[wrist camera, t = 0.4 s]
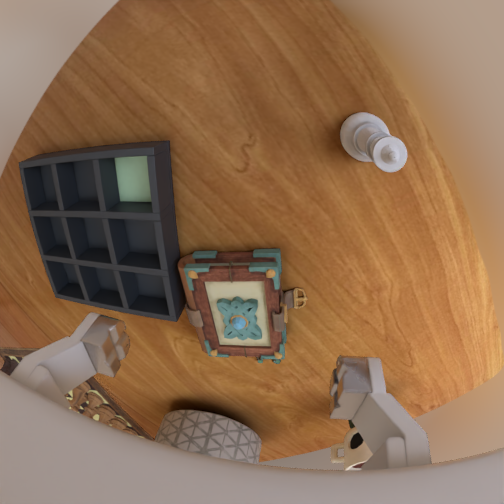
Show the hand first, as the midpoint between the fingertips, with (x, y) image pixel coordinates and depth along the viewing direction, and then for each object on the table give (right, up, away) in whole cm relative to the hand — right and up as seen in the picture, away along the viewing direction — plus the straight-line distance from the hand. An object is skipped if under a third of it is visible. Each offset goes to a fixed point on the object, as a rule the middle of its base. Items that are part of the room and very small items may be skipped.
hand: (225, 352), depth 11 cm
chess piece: (+11, +14, +14) cm, 23 cm away
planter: (-6, -29, +41) cm, 51 cm away
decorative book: (+1, -3, +26) cm, 26 cm away
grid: (-17, +7, +23) cm, 29 cm away
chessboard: (-48, -39, +54) cm, 82 cm away
